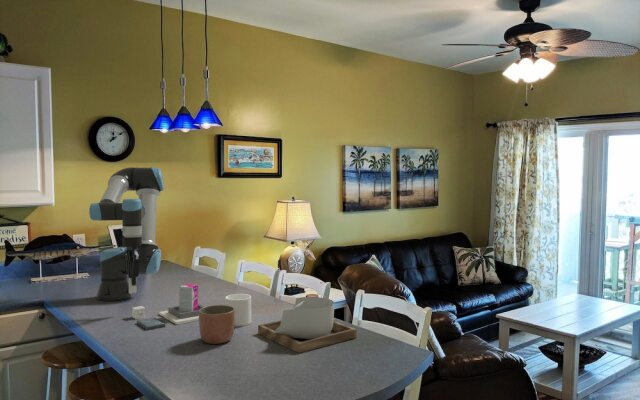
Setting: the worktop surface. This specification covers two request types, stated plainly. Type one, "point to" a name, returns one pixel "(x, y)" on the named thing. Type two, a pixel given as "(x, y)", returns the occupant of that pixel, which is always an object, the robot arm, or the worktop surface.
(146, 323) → the phone
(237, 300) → the mug
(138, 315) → the white cube
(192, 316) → the plate
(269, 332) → the wooden tray
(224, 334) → the planter
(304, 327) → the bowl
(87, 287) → the worktop surface
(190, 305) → the supplement box
